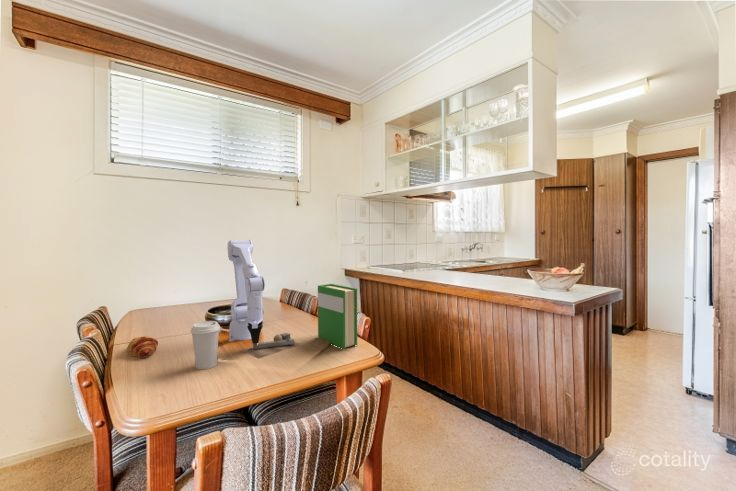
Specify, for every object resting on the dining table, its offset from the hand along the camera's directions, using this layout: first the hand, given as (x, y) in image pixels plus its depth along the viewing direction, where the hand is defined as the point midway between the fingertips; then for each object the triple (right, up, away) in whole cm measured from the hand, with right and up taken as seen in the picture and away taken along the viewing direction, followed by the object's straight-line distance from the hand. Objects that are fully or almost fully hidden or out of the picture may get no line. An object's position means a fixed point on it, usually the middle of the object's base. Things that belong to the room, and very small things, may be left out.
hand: (255, 341), depth 130 cm
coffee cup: (-13, -5, -13) cm, 19 cm away
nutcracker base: (+6, -4, +1) cm, 8 cm away
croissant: (-45, -5, 0) cm, 45 cm away
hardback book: (+31, -4, +10) cm, 33 cm away
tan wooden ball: (+7, -3, +6) cm, 10 cm away
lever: (+7, -3, +2) cm, 7 cm away
